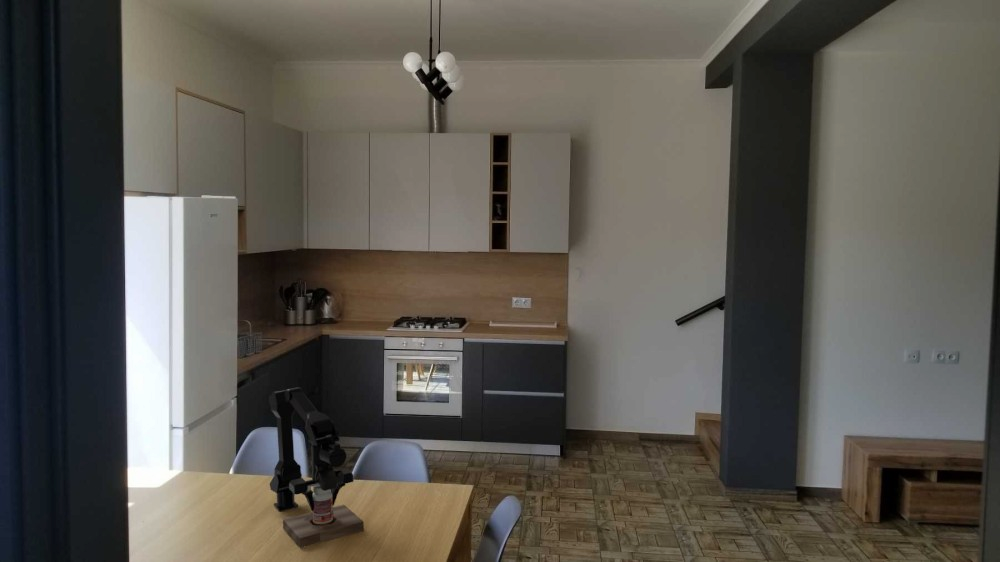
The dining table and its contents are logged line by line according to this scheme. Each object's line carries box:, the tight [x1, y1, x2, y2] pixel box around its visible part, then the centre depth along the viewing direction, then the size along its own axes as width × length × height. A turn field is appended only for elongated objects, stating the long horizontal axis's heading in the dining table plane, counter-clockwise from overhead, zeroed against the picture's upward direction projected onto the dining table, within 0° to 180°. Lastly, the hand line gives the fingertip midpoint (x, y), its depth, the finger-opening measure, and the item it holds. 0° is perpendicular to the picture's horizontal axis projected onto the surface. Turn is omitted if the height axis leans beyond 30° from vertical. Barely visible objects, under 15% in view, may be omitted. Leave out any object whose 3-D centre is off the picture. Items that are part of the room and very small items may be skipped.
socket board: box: [282, 504, 365, 549], centre depth 214 cm, size 16×20×3 cm
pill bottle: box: [311, 485, 334, 525], centre depth 213 cm, size 6×6×11 cm
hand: (322, 507), depth 213 cm, fingers closed on pill bottle, 6 cm apart
